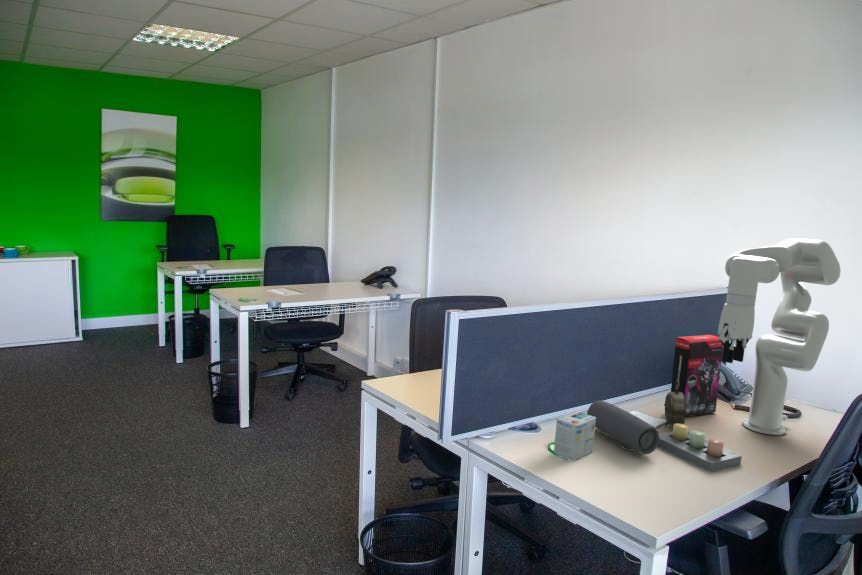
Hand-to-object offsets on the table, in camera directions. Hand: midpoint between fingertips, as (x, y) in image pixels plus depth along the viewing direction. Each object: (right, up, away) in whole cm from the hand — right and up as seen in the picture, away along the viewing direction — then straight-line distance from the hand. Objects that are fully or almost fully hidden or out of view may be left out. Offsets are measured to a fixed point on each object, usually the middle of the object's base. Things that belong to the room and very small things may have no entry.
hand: (732, 360), depth 177 cm
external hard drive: (-18, -24, +24) cm, 38 cm away
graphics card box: (+3, -23, +34) cm, 41 cm away
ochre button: (-14, -24, +4) cm, 28 cm away
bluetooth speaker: (-32, -25, +4) cm, 41 cm away
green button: (-11, -25, -1) cm, 27 cm away
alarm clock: (-10, -24, +19) cm, 32 cm away
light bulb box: (-48, -26, -6) cm, 55 cm away
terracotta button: (-8, -26, -7) cm, 28 cm away
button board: (-11, -27, -1) cm, 29 cm away
